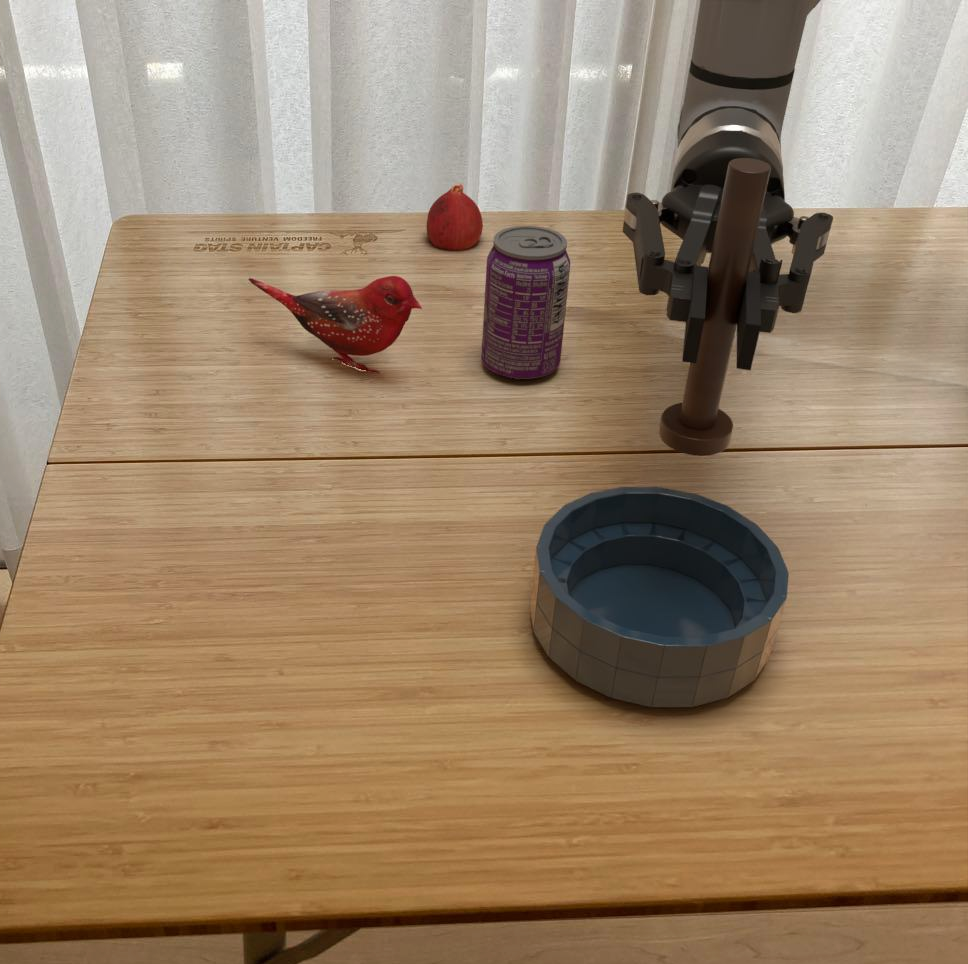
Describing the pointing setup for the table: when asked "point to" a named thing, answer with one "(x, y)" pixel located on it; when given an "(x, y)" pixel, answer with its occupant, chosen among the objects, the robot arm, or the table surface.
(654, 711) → the table surface
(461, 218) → the red pomegranate
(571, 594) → the bowl
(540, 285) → the beverage can
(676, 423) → the stirring stick
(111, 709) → the table surface
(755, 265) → the robot arm
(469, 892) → the table surface
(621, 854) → the table surface
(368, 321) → the decorative bird figurine
